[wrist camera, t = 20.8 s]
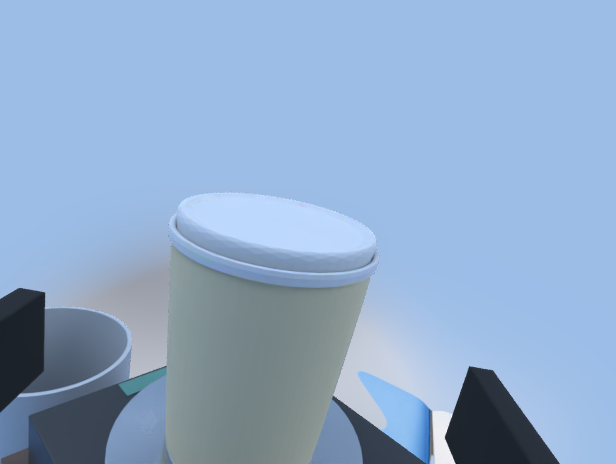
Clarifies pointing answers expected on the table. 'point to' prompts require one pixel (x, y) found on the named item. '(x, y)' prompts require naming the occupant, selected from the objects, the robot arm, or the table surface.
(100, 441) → the scale
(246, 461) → the coffee cup
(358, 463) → the scale pan
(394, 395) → the table surface
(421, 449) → the table surface
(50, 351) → the cylinder vase
